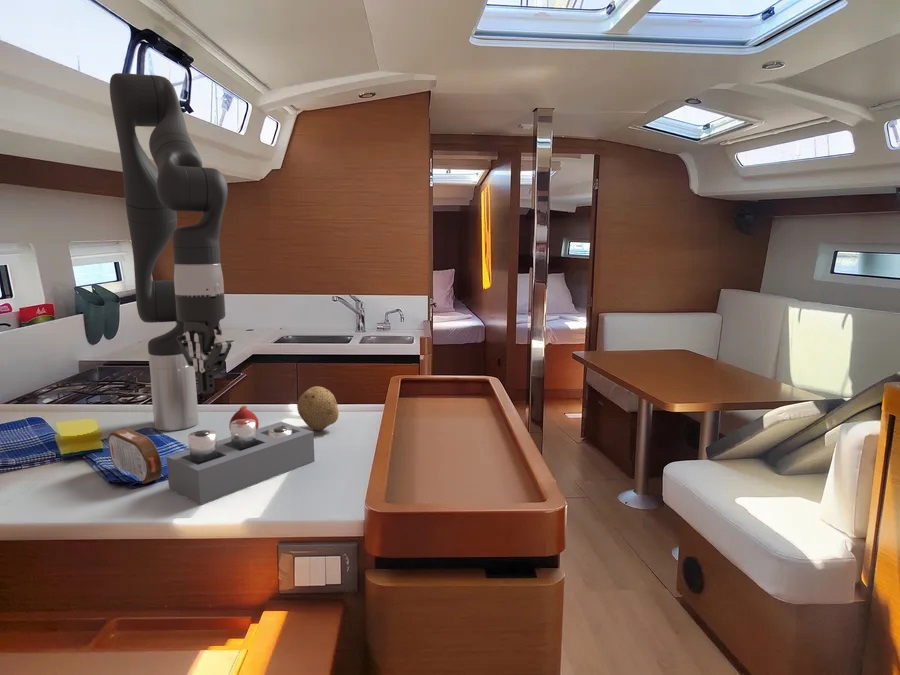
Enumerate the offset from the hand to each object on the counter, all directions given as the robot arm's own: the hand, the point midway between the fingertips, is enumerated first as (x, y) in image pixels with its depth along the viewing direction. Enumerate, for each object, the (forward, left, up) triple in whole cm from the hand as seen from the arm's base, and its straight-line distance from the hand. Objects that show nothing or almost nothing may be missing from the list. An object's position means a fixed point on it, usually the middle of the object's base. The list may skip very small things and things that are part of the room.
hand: (206, 392), depth 102 cm
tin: (-15, -6, -18) cm, 24 cm away
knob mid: (0, +7, -11) cm, 13 cm away
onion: (-15, +17, -18) cm, 29 cm away
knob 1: (0, -1, -11) cm, 11 cm away
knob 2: (0, +15, -15) cm, 21 cm away
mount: (0, +7, -17) cm, 19 cm away
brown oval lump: (-9, +32, -18) cm, 38 cm away
